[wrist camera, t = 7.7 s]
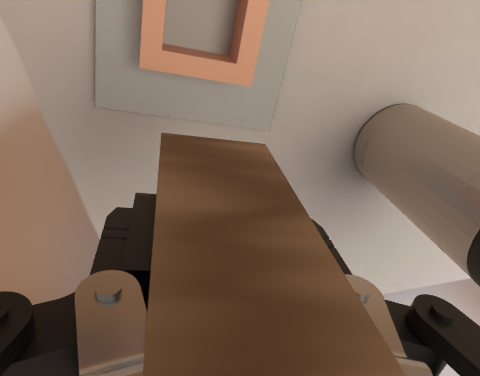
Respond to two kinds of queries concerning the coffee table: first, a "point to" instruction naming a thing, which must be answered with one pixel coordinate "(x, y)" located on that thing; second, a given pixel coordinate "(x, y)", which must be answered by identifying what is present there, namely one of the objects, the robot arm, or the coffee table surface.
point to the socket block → (194, 58)
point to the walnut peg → (247, 274)
